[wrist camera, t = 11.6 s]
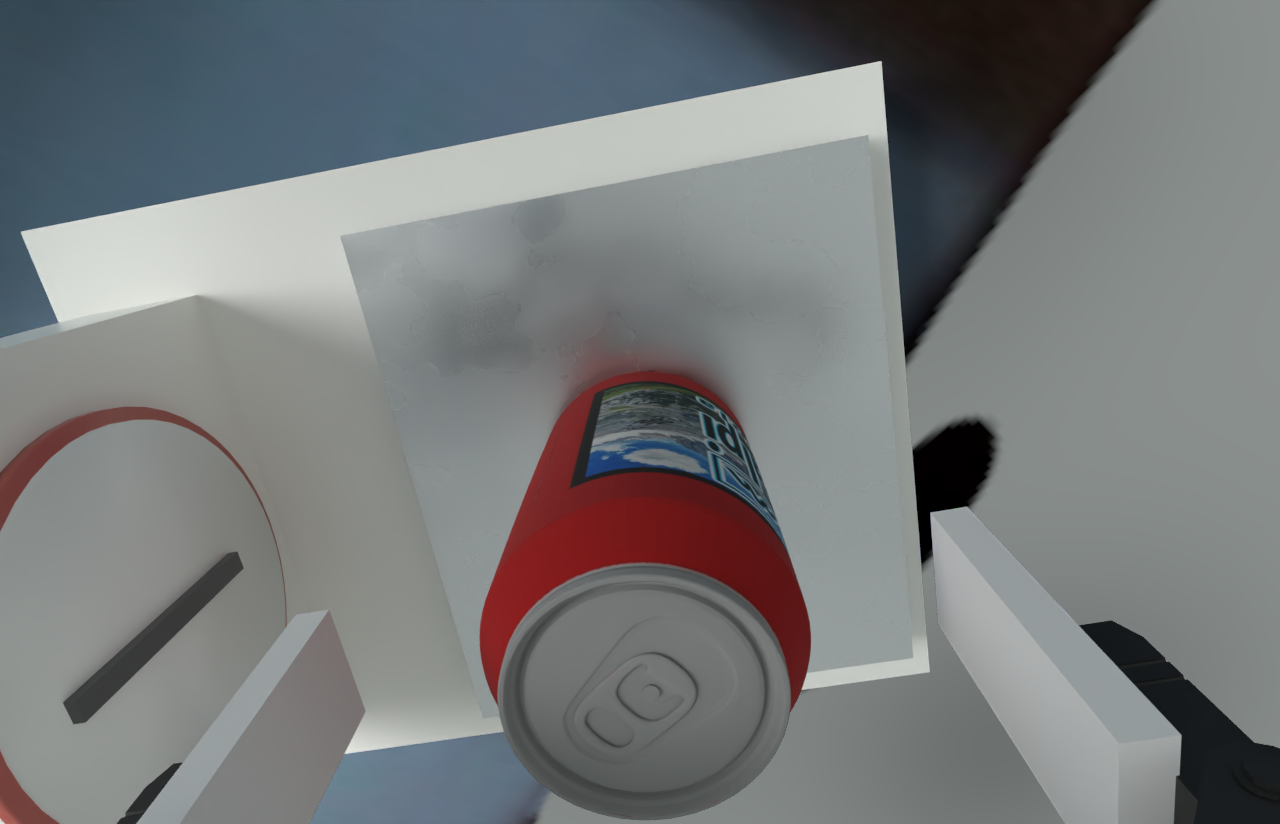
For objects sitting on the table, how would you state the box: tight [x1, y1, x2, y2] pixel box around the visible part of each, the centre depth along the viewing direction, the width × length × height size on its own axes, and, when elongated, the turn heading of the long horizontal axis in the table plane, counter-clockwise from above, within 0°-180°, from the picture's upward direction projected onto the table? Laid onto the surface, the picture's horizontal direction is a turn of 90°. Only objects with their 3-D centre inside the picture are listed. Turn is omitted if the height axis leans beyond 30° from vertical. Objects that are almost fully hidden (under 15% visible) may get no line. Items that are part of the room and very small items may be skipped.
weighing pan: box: [340, 135, 913, 719], centre depth 26 cm, size 16×18×1 cm
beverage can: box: [479, 371, 811, 820], centre depth 19 cm, size 7×7×12 cm
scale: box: [0, 61, 930, 824], centre depth 23 cm, size 28×22×17 cm
